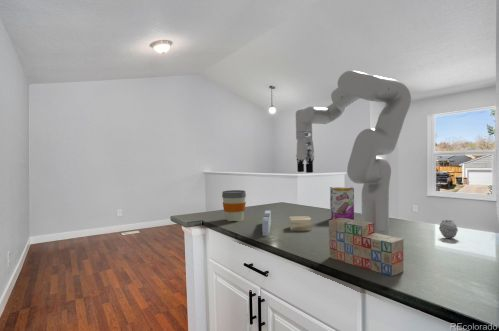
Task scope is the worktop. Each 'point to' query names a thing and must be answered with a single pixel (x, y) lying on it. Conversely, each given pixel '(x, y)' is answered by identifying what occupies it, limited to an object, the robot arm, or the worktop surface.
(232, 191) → the reusable coffee cup
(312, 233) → the worktop surface
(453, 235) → the rough grey ball
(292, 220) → the maple block
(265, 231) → the grey-blue board
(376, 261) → the stack of blocks
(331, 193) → the candy bar box
